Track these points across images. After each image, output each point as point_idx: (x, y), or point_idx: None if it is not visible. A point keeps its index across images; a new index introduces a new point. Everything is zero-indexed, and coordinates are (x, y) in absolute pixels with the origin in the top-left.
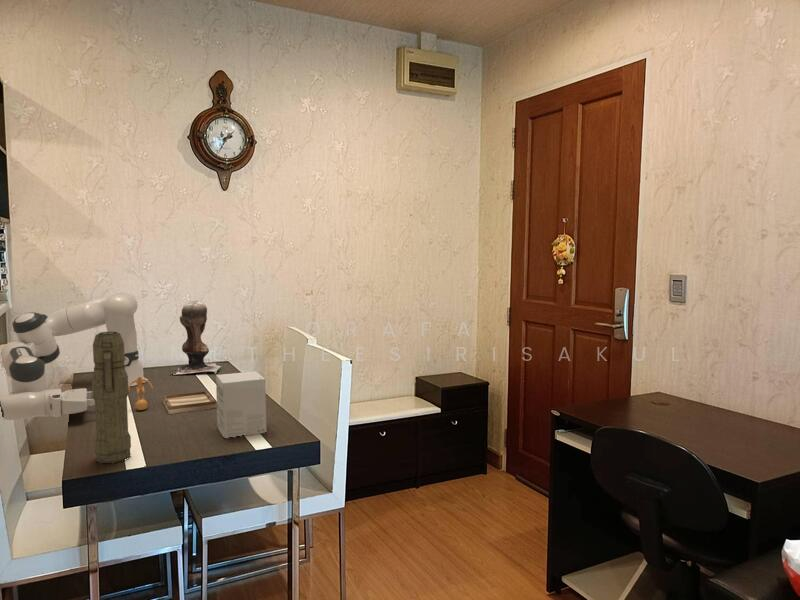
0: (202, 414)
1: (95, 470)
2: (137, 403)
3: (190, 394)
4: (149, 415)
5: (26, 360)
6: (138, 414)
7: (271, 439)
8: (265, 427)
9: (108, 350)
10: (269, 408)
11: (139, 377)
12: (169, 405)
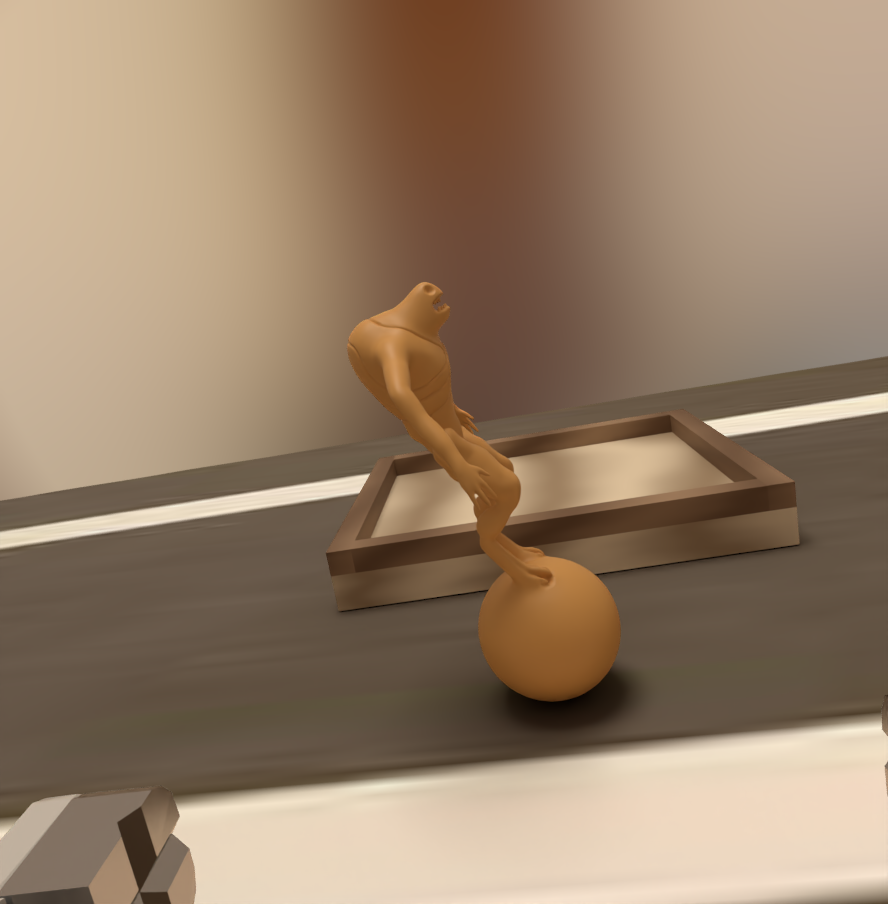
0: (836, 458)
1: None
2: (587, 614)
3: (385, 492)
4: (826, 624)
5: None
6: (758, 695)
7: None
8: None
9: None
10: (754, 384)
11: (439, 291)
12: (730, 487)
